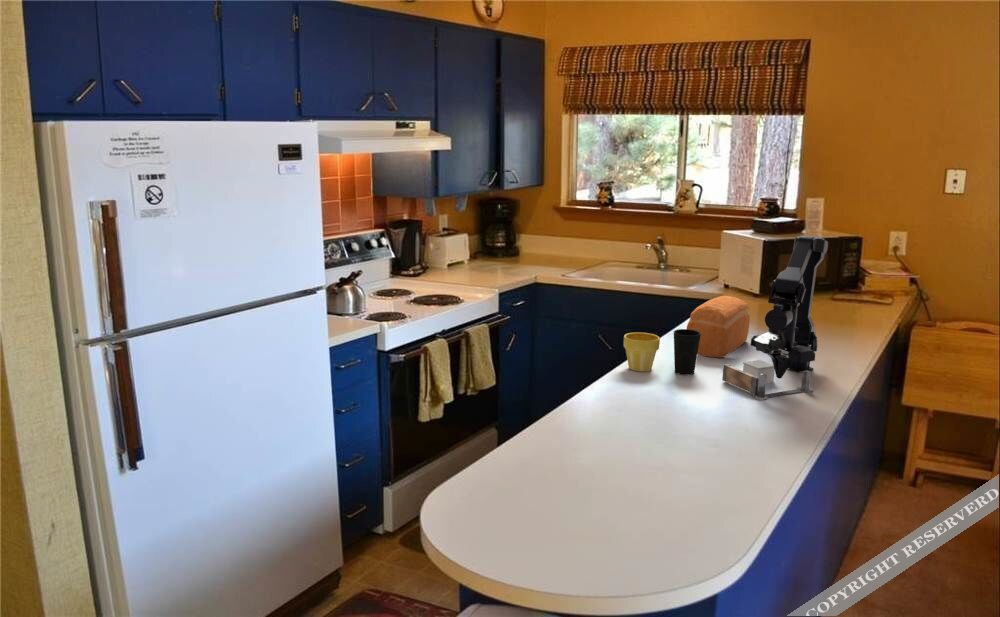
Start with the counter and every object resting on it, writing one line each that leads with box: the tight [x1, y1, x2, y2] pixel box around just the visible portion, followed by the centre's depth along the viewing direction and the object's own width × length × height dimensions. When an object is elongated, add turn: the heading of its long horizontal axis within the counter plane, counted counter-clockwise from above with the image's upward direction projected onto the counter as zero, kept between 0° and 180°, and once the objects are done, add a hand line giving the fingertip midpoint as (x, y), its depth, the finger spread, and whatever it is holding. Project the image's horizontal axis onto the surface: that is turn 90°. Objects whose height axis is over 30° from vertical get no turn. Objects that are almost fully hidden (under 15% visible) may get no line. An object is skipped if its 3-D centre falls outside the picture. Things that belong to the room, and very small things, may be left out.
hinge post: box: [752, 373, 769, 401], centre depth 217 cm, size 4×4×6 cm
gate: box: [721, 363, 758, 396], centre depth 224 cm, size 13×2×5 cm, turn 25°
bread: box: [686, 295, 750, 359], centre depth 264 cm, size 14×26×16 cm, turn 147°
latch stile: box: [796, 370, 814, 393], centre depth 224 cm, size 3×3×6 cm
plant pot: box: [623, 332, 661, 373], centre depth 240 cm, size 10×10×10 cm
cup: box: [673, 328, 701, 376], centre depth 237 cm, size 8×8×12 cm
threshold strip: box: [765, 388, 803, 399], centre depth 221 cm, size 12×2×1 cm, turn 115°
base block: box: [742, 359, 775, 384], centre depth 232 cm, size 6×6×5 cm
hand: (779, 378), depth 225 cm, fingers closed
